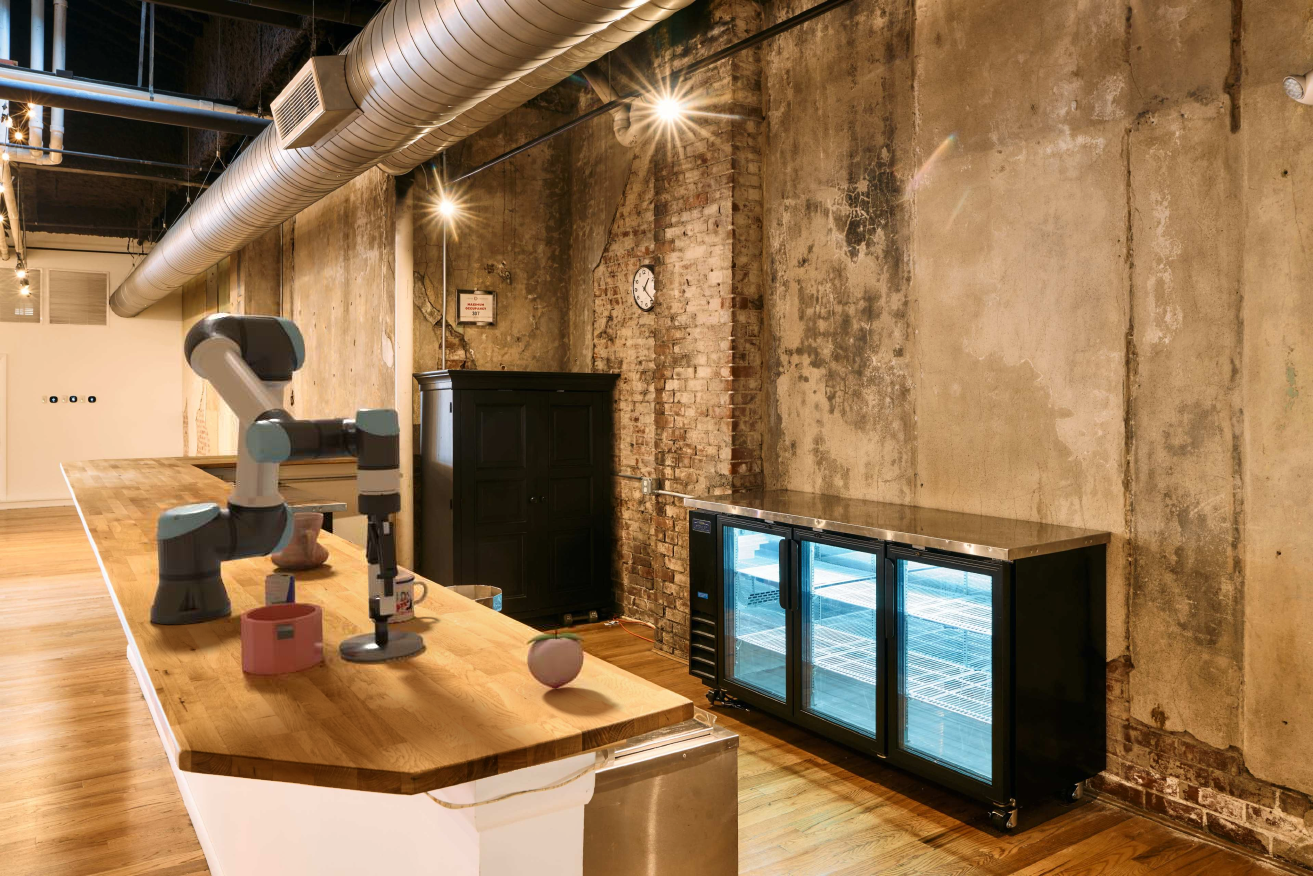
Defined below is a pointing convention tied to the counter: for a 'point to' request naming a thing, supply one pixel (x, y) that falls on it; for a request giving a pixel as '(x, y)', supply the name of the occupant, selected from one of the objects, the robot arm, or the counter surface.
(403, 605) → the teacup with lid
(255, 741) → the counter surface
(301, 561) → the ceramic jug
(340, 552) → the counter surface
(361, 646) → the lid
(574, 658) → the decorative fruit
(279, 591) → the energy drink
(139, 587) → the counter surface
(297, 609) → the pot
